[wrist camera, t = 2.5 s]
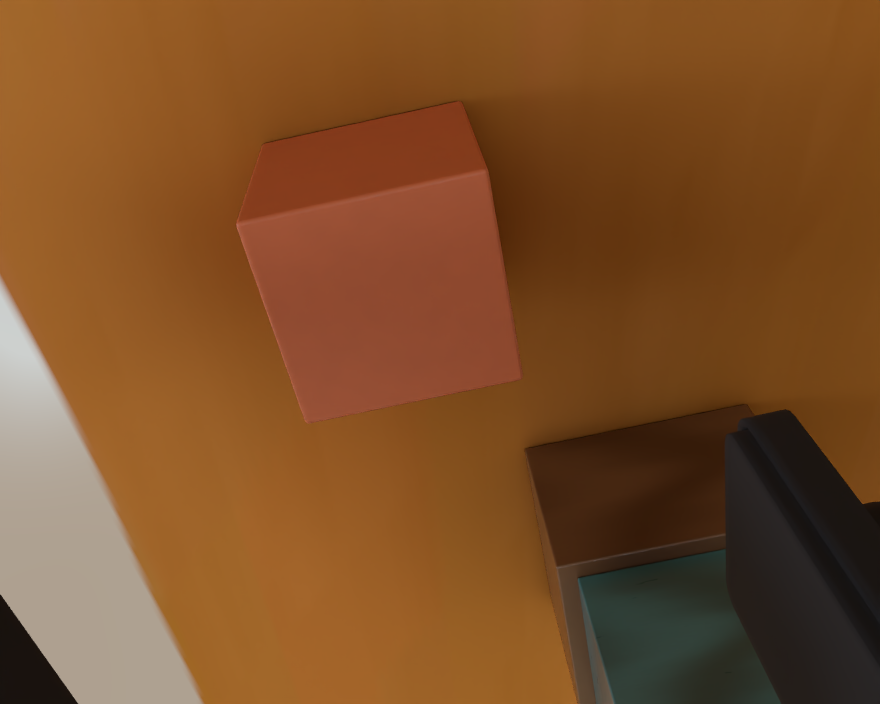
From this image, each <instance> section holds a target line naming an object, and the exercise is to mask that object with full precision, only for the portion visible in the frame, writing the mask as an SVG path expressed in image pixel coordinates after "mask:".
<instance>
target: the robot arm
mask: <svg viewBox="0 0 880 704" xmlns="http://www.w3.org/2000/svg"><path fill="white" fill-rule="evenodd" d="M725 530H726V584H727V589H728V593H729V596H730V599H731V602H732V605H733V607H734V609H735V611H736V613H737V615H738V617H739V620H740V622H741V624H742V626H743V628H744V630H745V632H746V634H747V636H748V638H749V640H750V642H751V644H752V646H753V648H754V650H755V652H756V654H757V656H758V658H759V660H760V662H761V664H762V666H763V668H764V670H765V672H766V674H767V676H768V678H769V680H770V682H771V684H772V686H773V688H774V690H775V692H776V694H777V696H778V698H779V700H780V702H781V704H880V502H871V503H866V504H862V503H861V502H860V501H859V499H858V498H857V497H856V495H855V494H854V493H853V491H852V490H851V489H850V487H849V486H848V485H847V484H846V482H845V481H844V480H843V478H842V477H841V476H840V474H839V473H838V472H837V470H836V469H835V468H834V467H833V465H832V464H831V463H830V461H829V460H828V459H827V457H826V456H825V455H824V453H823V452H822V451H821V450H820V448H819V447H818V446H817V444H816V443H815V442H814V440H813V439H812V438H811V436H810V435H809V434H808V433H807V431H806V430H805V429H804V427H803V426H802V425H801V423H800V422H799V421H798V420H797V418H796V417H795V416H794V415H793V414H792V413H791V412H790V411H788V410H786V409H785V410H780V411H776V412H771V413H766V414H761V415H757V416H752V417H747V418H743V419H740V420H739V423H738V428H737V432H733V433H728V434H726V437H725ZM0 704H78V703H77V702H76V700H75V699H74V697H73V696H72V694H71V693H70V692H69V690H68V689H67V687H66V686H65V685H64V683H63V682H62V681H61V679H60V678H59V676H58V675H57V673H56V672H55V671H54V669H53V668H52V666H51V665H50V664H49V662H48V661H47V659H46V658H45V657H44V655H43V654H42V653H41V651H40V649H39V648H38V647H37V645H36V644H35V642H34V641H33V640H32V638H31V637H30V635H29V634H28V633H27V631H26V630H25V628H24V627H23V626H22V624H21V623H20V621H19V620H18V619H17V617H16V616H15V615H14V613H13V611H12V610H11V609H10V607H9V606H8V605H7V603H6V602H5V600H4V599H3V597H2V596H1V595H0Z"/></svg>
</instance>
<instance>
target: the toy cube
mask: <svg viewBox="0 0 880 704" xmlns="http://www.w3.org/2000/svg"><path fill="white" fill-rule="evenodd" d="M236 227H237V230H238V232H239V235H240V238H241V241H242V244H243V247H244V249H245V252H246V255H247V258H248V261H249V264H250V267H251V269H252V272H253V275H254V278H255V281H256V284H257V286H258V289H259V292H260V295H261V298H262V301H263V303H264V306H265V309H266V312H267V315H268V318H269V320H270V323H271V326H272V329H273V332H274V335H275V337H276V340H277V343H278V346H279V349H280V352H281V354H282V357H283V360H284V363H285V366H286V369H287V371H288V374H289V377H290V380H291V383H292V386H293V389H294V391H295V394H296V397H297V400H298V403H299V406H300V408H301V411H302V414H303V417H304V420H305V421H306V423H313V422H318V421H323V420H328V419H333V418H338V417H343V416H347V415H352V414H357V413H362V412H367V411H372V410H376V409H381V408H386V407H391V406H396V405H401V404H406V403H410V402H415V401H420V400H425V399H430V398H435V397H440V396H444V395H449V394H454V393H459V392H464V391H469V390H474V389H478V388H483V387H488V386H493V385H498V384H503V383H507V382H512V381H517V380H521V379H522V377H523V372H522V366H521V360H520V354H519V348H518V342H517V336H516V330H515V324H514V319H513V313H512V307H511V301H510V295H509V289H508V283H507V277H506V271H505V266H504V260H503V254H502V248H501V242H500V236H499V230H498V224H497V218H496V213H495V207H494V201H493V195H492V189H491V183H490V177H489V171H488V169H487V166H486V163H485V161H484V158H483V156H482V153H481V150H480V148H479V145H478V142H477V140H476V137H475V135H474V132H473V129H472V127H471V124H470V121H469V119H468V116H467V114H466V111H465V108H464V106H463V104H462V102H460V101H457V102H453V103H448V104H443V105H439V106H434V107H430V108H425V109H421V110H416V111H411V112H407V113H402V114H398V115H393V116H389V117H384V118H379V119H375V120H370V121H366V122H361V123H356V124H352V125H347V126H343V127H338V128H334V129H329V130H324V131H320V132H315V133H311V134H306V135H302V136H297V137H292V138H288V139H283V140H279V141H274V142H270V143H265V144H263V145H262V147H261V150H260V153H259V156H258V159H257V162H256V165H255V168H254V171H253V174H252V177H251V180H250V183H249V186H248V189H247V192H246V195H245V198H244V201H243V204H242V207H241V210H240V213H239V216H238V219H237V222H236Z"/></svg>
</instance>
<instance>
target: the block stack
mask: <svg viewBox="0 0 880 704" xmlns="http://www.w3.org/2000/svg"><path fill="white" fill-rule="evenodd" d="M752 416H754V414H753V413H752V411H751V410H750V408H749V407H748V405H746V404H745V405H740V406H735V407H730V408H725V409H720V410H715V411H710V412H706V413H701V414H696V415H691V416H686V417H681V418H676V419H671V420H666V421H661V422H656V423H651V424H646V425H642V426H637V427H632V428H627V429H622V430H617V431H612V432H607V433H602V434H597V435H592V436H587V437H582V438H577V439H573V440H568V441H563V442H558V443H553V444H548V445H543V446H538V447H533V448H528V449H525V454H526V460H527V465H528V471H529V477H530V482H531V488H532V493H533V499H534V504H535V510H536V516H537V521H538V527H539V532H540V538H541V544H542V549H543V555H544V560H545V566H546V572H547V577H548V583H549V588H550V594H551V600H552V604H553V608H554V612H555V616H556V620H557V624H558V628H559V632H560V636H561V640H562V644H563V648H564V652H565V656H566V660H567V664H568V668H569V672H570V676H571V680H572V684H573V688H574V692H575V696H576V700H577V704H781V702H780V700H779V698H778V696H777V694H776V692H775V690H774V688H773V686H772V684H771V682H770V680H769V678H768V676H767V674H766V672H765V670H764V668H763V666H762V664H761V662H760V660H759V658H758V656H757V654H756V652H755V650H754V648H753V646H752V644H751V642H750V640H749V638H748V636H747V634H746V632H745V630H744V628H743V626H742V624H741V622H740V620H739V617H738V615H737V613H736V611H735V609H734V607H733V605H732V602H731V599H730V596H729V593H728V589H727V584H726V530H725V437H726V434H728V433H733V432H737V428H738V423H739V420H740V419H743V418H747V417H752Z"/></svg>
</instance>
